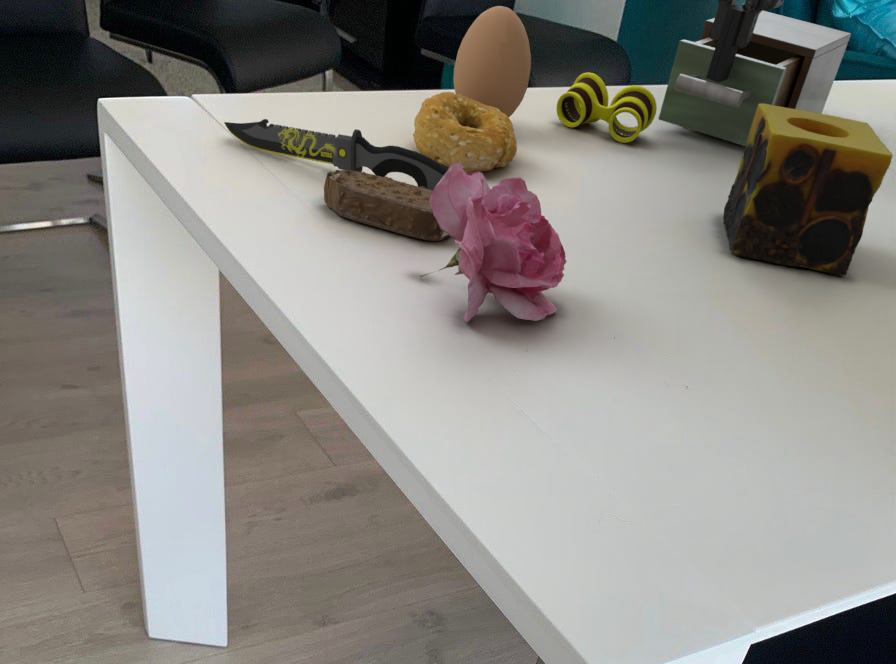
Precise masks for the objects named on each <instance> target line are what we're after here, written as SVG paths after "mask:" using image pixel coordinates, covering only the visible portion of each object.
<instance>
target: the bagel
mask: <svg viewBox="0 0 896 664" xmlns="http://www.w3.org/2000/svg"><path fill="white" fill-rule="evenodd" d="M413 125H414V133H412V137H413V142H414V144H415V145H416V149H417V150H418V151H419V152H418V153H420V154H423V155H425V156H427V157H429V158H431V159H433V160H434V161H436V162H438V163H440V164H441V165H443V166H444V167H446V168H447V169H449V167H450V166H451V164H454V163H461V165H462V169H463V170H464V171H465V172H466V173H470V172H476V171H480V172H481V173H483V172H488V171H489V172H490V171H492V170H493V169H494V168H505V167H506V166H507V165H508V163H509V162H512V161H513V159H514V157H515V156H516V154H517V151H518V146H517V145H518V143H517V138H516V136H515V133H514V126H513V122H512V120H511V119H510V117H509V118H508V116H507V115H506V114H504V113H502V112H501V111H500V110H499V109H497V108H495V107H492V106H487V105H485V104H482V103H480V102H478V101H475V100H472V99H470V98H468V97H466V96H463V95H460V94H455V91H454V92H453V91H445V92H444V91H443V92H440V93H436V94H434V95H432V96H431V97H426V98H425V99H424V100H423V101H422V102H421V106H420V109H419V111H418V112H417V114H416V115H415V118H414V121H413Z"/></svg>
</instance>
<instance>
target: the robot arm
mask: <svg viewBox="0 0 896 664" xmlns="http://www.w3.org/2000/svg"><path fill="white" fill-rule="evenodd" d="M739 1H740V0H717V2H718V6H717V10H716V13H715V16H714V18H715V19H714V23H713V26H712V29H711V32H710V38H711V39H713V40H716V41H717V44H716V47H715V51H714V54H713V57H712V60H711V63H710V67H709V70H708V73H707V76H706V78H707V79H710V80H713V81H716V82H719V83H720V82H722V81H724V80H727V79H728V77H729V74H730V71H731V68H732V65H733V62H734V59H735V56H736V53H737V50H738V47H740V48H744V47H746V46H747V45H748V44H749V42H750V40H751V37H752V34H753V31H754V28H755V25H756V22H757V19H758V16H759V14H760V13H761V11H768V10H773V9H776V8H779V7H781V6H782V5H783V4H784V2H785V0H745V3H742V5H739V4H736V3H737V2H739Z"/></svg>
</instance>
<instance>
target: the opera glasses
mask: <svg viewBox="0 0 896 664" xmlns="http://www.w3.org/2000/svg"><path fill="white" fill-rule="evenodd" d="M623 113H628V114H630V115H632V116H633V117H634V119H635V120H636V122H637V126H630V127H629V126H626V125H624V124H622V123H621V122H620V121H619V120H618V117H617V116H618V115H620V114H623ZM556 114H557V117H558V120H559V121H560V122H561V123H562V124H563V125H564V126H565V127H568V128H576V127H578V126H580V125H584V124H594V123H597V122H599V121H600V120H601V121H603V122H606V123H607V124H608V131H609V134H610V136H611V137H612V138H613V139H614V140H615V141H616V142H619V143H621V144H627V143H631V142H633V141H635V140H636V139H637V138H638V137H639V135H640V134H641V132H643V131H645V130H646V129H647V128H649V127H650V125H651V124H652V123H653V122H654V119H655V118H656V114H657V101H656V99H655V96H654V94H653V93H652V92H651V91H650V90H649V89H647V88H646V87H644V86H641V85H629V86H626V87H623V88H621V90H619V91H618V92H617V93H616V94H615V95H614V96H613V98H612V100H611V102H610V106H609V92H608V88H607V86H606V84H605V82H604V81H603V79H602V78H601V76H599V75H598V74H596V73H593V72H587V71H586V72H583V73H581V74H579V76H577V78H576V79H575V81H574V82H573V84H572V85H571V86H570V87H569V88H568V90H567V91H566V92H565V93H563V94H561V95H560V97H559V98H558V99H557V103H556Z"/></svg>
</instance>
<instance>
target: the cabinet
mask: <svg viewBox="0 0 896 664" xmlns="http://www.w3.org/2000/svg"><path fill="white" fill-rule="evenodd" d="M714 19H715V17H713V18H710V19H707V20H705V22H704V26H703V29H702V33H701V37H700V40H703V39H706V38H709V37H710V32H711V29H712V26H713V23H714ZM851 35H852V33H851V32H847V31H843V30H839V29H835V28H832V27H829V26H824V25H820V24H817V23H812V22H808V21H805V20H800V19H797V18H794V17H789V16H785V15H781V14H777V13H774V12H769V11H768V10H763V11H761V13H760V14H759V16H758V19H757V22H756V25H755V28H754V31H753V34H752V37H751V40H750V42H752V43H756V44H760V45H763V46H767V47H771V48H774V49H778V50H782V51H785V52H789V53H793V54H796V55H800V56H804V57H805V58H804V61H803V64H802V67H801V70H800V73H799V76H798V79H797V81H796V84H795V87H794V90H793V93H792V96H791V99H790V101H789V104H788V107H787V108H791V109H797V110H803V111H808V112H814V113H820V114H823V112H824V109H825V106H826V103H827V101H828V97H829V95H830V92H831V90H832V87H833V84H834V82H835V79H836V77H837V73H838V71H839V68H840V66H841V63H842V60H843V58H844V55H845V52H846V50H847V46H848V43H849V41H850V38H851ZM700 40H699V41H700Z"/></svg>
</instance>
